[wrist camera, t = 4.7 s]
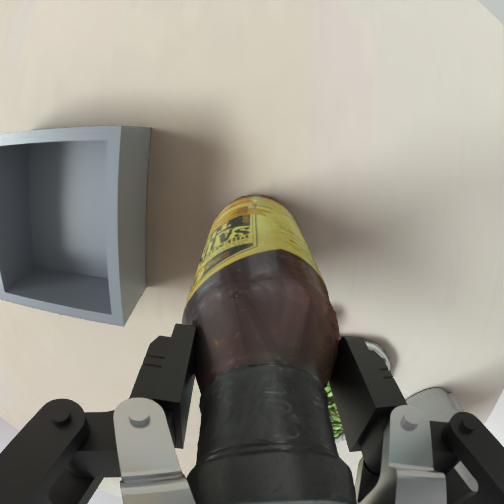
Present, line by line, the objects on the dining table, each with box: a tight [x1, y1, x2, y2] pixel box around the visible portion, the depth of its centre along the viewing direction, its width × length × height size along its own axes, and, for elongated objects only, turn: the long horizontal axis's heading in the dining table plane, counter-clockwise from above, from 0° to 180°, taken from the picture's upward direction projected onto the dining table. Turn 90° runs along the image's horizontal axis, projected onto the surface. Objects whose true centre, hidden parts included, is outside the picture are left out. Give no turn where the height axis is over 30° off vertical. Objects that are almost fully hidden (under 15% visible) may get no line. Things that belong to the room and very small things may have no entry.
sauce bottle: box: [182, 195, 357, 504], centre depth 14 cm, size 7×6×20 cm
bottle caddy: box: [0, 126, 151, 327], centre depth 19 cm, size 12×13×6 cm
